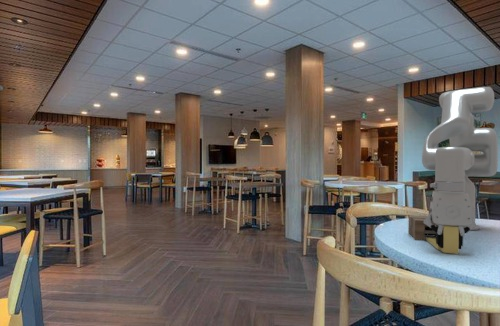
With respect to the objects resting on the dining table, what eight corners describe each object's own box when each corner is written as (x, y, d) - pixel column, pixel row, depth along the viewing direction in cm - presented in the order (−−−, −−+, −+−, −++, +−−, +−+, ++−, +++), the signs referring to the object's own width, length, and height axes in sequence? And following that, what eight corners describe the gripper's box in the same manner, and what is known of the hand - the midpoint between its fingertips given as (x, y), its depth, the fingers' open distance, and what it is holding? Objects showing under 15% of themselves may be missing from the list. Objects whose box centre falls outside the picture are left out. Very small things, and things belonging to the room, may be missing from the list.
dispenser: (408, 233, 118) (408, 215, 118) (443, 235, 115) (443, 217, 115) (415, 240, 108) (415, 220, 108) (454, 242, 105) (454, 222, 105)
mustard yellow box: (425, 239, 109) (425, 216, 109) (441, 240, 107) (441, 217, 107) (441, 252, 92) (441, 226, 92) (460, 253, 91) (460, 227, 91)
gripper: (422, 187, 92) (422, 248, 92) (487, 189, 87) (487, 253, 87) (415, 185, 99) (415, 242, 99) (475, 187, 95) (475, 246, 95)
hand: (449, 246), depth 93 cm, fingers closed on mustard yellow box, 4 cm apart
